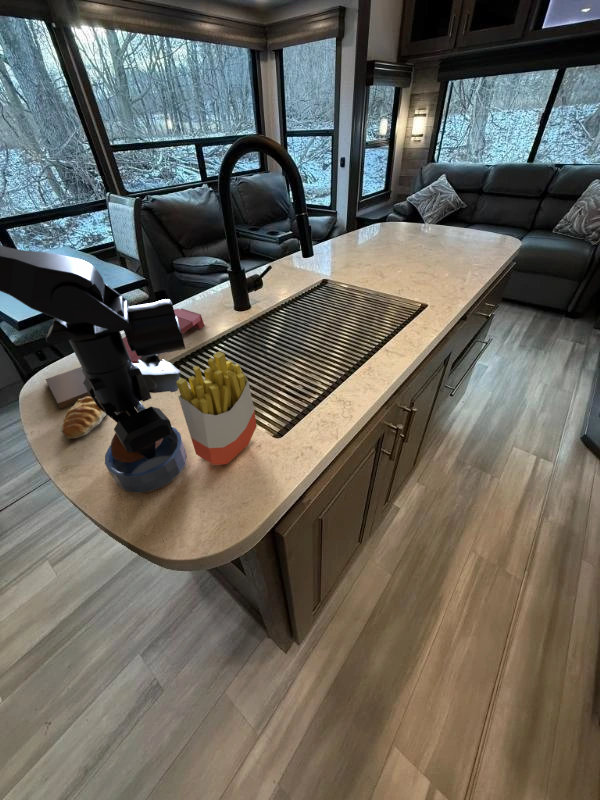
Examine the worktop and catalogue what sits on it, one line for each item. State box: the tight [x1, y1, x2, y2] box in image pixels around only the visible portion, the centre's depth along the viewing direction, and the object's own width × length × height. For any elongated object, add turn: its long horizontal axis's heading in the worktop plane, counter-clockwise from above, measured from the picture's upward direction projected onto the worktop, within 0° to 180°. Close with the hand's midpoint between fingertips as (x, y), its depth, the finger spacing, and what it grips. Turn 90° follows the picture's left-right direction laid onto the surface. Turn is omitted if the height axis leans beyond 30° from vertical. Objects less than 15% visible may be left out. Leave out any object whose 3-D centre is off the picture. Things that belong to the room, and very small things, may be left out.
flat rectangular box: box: [45, 366, 91, 409], centre depth 76 cm, size 12×12×2 cm
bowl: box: [104, 426, 188, 494], centre depth 56 cm, size 12×12×4 cm
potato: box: [110, 432, 163, 463], centre depth 53 cm, size 7×9×6 cm
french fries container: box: [176, 350, 258, 466], centre depth 54 cm, size 5×11×18 cm, turn 146°
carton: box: [122, 308, 206, 364], centre depth 92 cm, size 12×5×25 cm
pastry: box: [62, 397, 107, 439], centre depth 64 cm, size 9×7×4 cm
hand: (142, 444), depth 54 cm, fingers closed on potato, 7 cm apart
